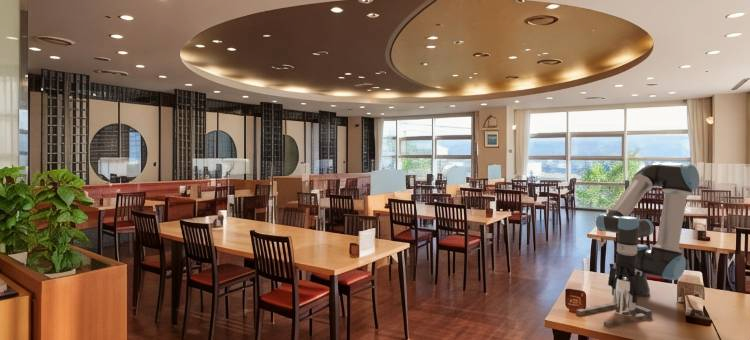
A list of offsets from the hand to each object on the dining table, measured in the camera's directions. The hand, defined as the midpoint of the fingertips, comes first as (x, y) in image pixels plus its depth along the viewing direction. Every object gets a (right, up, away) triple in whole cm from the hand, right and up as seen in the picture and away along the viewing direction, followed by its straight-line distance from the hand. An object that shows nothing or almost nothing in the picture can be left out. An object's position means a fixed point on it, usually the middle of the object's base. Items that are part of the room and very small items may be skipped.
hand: (623, 306), depth 185 cm
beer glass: (0, -3, 0) cm, 3 cm away
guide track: (-6, -3, -2) cm, 7 cm away
